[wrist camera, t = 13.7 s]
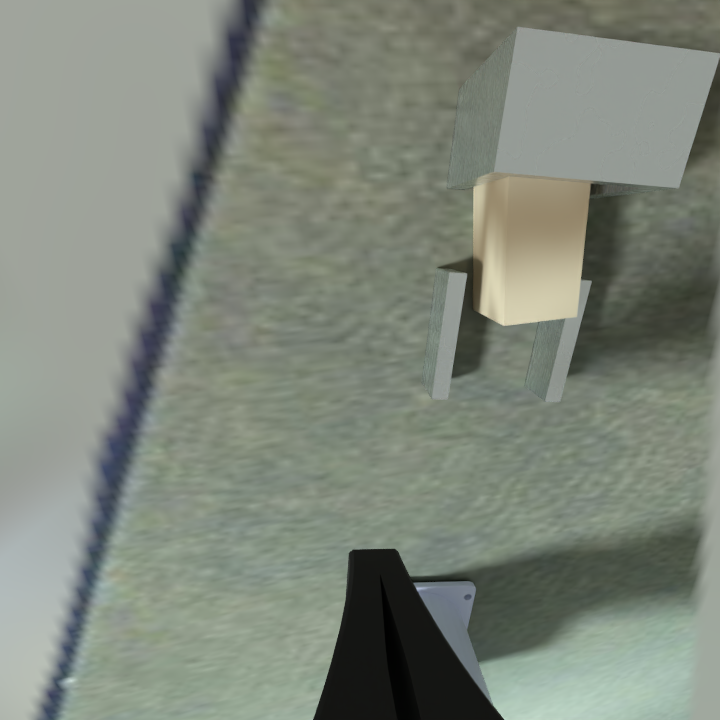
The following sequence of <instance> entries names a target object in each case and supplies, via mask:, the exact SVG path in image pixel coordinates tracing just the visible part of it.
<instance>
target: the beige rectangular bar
mask: <svg viewBox="0 0 720 720" xmlns="http://www.w3.org/2000/svg"><path fill="white" fill-rule="evenodd" d="M590 186H591V184H589V183H578V182H566V181H555V180H543V179H532V178H521V177H505V178H502V179H499V180H495V181H492V182H489V183H485V184H482V185H479V186H475V187H474V204H473V310H475V311H477V312H479V313H480V314H482V315H484V316H486V317H488V318H490V319H492V320H494V321H496V322H497V323H499V324H501V325H503V326H506V325H515V324H523V323H531V322H540V321H548V320H556V319H564V318H573V317H577V311H578V302H579V292H580V283H581V273H582V263H583V254H584V244H585V234H586V225H587V215H588V205H589V196H590Z"/></svg>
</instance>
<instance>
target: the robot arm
mask: <svg viewBox="0 0 720 720" xmlns="http://www.w3.org/2000/svg"><path fill="white" fill-rule="evenodd" d="M475 593H476V588H475V585H474V583H473V582H470V581H456V582H420V583H413V582H412V580H411V578H410V576H409V574H408V572H407V570H406V568H405V566H404V564H403V562H402V559H401V557H400V555H399V553H398V551H397V550H396V549H362V550H352V551H351V552H350V553H349V561H348V575H347V589H346V601H345V606H344V612H343V617H342V622H341V626H340V631H339V634H338V638H337V642H336V646H335V650H334V654H333V658H332V661H331V665H330V668H329V672H328V675H327V679H326V682H325V685H324V689H323V692H322V695H321V698H320V701H319V704H318V707H317V710H316V713H315V716H314V719H313V720H504V719H503V718H502V716H501V715H500V714H499V713H498V711H497V710H496V709H495V707H494V706H493V703H492V701H491V698H490V695H489V692H488V689H487V686H486V683H485V681H484V678H483V675H482V672H481V669H480V666H479V664H478V661H477V658H476V655H475V652H474V649H473V646H472V644H471V641H470V638H469V635H468V632H467V629H468V624H469V620H470V615H471V611H472V606H473V602H474V597H475Z"/></svg>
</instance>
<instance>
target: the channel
mask: <svg viewBox="0 0 720 720" xmlns="http://www.w3.org/2000/svg"><path fill="white" fill-rule="evenodd" d="M466 279H467V273H464V272H461V271H458V270H454V269H444V268H436V275H435V283H434V291H433V299H432V307H431V314H430V322H429V330H428V338H427V345H426V353H425V361H424V369H423V377H422V384H423V386H424V388H425V389H426V391H427V392H428V394H429V396H430V397H431V399H448V395H449V388H450V382H451V375H452V369H453V362H454V356H455V350H456V343H457V337H458V330H459V324H460V317H461V311H462V305H463V298H464V292H465V285H466ZM591 283H592V281H590V280H585V279H581V283H580V292H579V302H578V311H577V317H573V318H564V319H556V320H548V321H540V322H539V325H538V329H537V334H536V338H535V343H534V347H533V351H532V356H531V360H530V365H529V369H528V374H527V378H526V382H525V387H527V388H528V389H529V390H531V391H532V392H533V393H534V394H536V395H537V396H538V397H540V398H541V399H542V400H543V401H545V402H560V400H561V396H562V392H563V389H564V385H565V381H566V377H567V373H568V370H569V366H570V362H571V358H572V355H573V351H574V347H575V343H576V339H577V336H578V332H579V328H580V324H581V320H582V317H583V313H584V309H585V305H586V302H587V298H588V294H589V290H590V286H591Z"/></svg>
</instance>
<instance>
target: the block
mask: <svg viewBox="0 0 720 720" xmlns="http://www.w3.org/2000/svg"><path fill="white" fill-rule="evenodd" d="M719 58H720V53H714V52H706V51H699V50H691V49H683V48H676V47H668V46H660V45H653V44H645V43H638V42H630V41H622V40H615V39H607V38H599V37H592V36H584V35H576V34H569V33H561V32H554V31H546V30H538V29H531V28H523V27H517V28H516V29H515V30H514V31H513V32H512V33H511V34H510V35H509V37H508V38H507V39H506V40H505V41H504V42H503V43H502V44H501V45H500V46H499V47H498V48H497V49H496V50H495V51H494V53H493V54H492V55H491V56H490V57H489V58H488V59H487V60H486V61H485V62H484V63H483V64H482V65H481V66H480V68H479V69H478V70H477V71H476V72H475V73H474V74H473V75H472V76H471V77H470V78H469V79H468V80H467V81H466V83H465V84H464V85H463V86H462V87H461V88H460V89H459V96H458V104H457V112H456V120H455V127H454V135H453V143H452V151H451V159H450V166H449V174H448V182H447V189H458V190H465V189H469V188H472V187H475V186H479V185H482V184H485V183H489V182H492V181H495V180H499V179H502V178H505V177H521V178H532V179H543V180H555V181H566V182H578V183H589V184H591V186H590V196H589V199H594V198H602V197H610V196H619V195H627V194H635V193H643V192H652V191H660V190H668V189H676V188H679V186H680V182H681V179H682V176H683V173H684V170H685V166H686V163H687V160H688V157H689V154H690V151H691V147H692V144H693V141H694V138H695V135H696V131H697V128H698V125H699V122H700V119H701V116H702V112H703V109H704V106H705V103H706V100H707V96H708V93H709V90H710V87H711V84H712V81H713V77H714V74H715V71H716V68H717V65H718V61H719Z"/></svg>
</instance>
